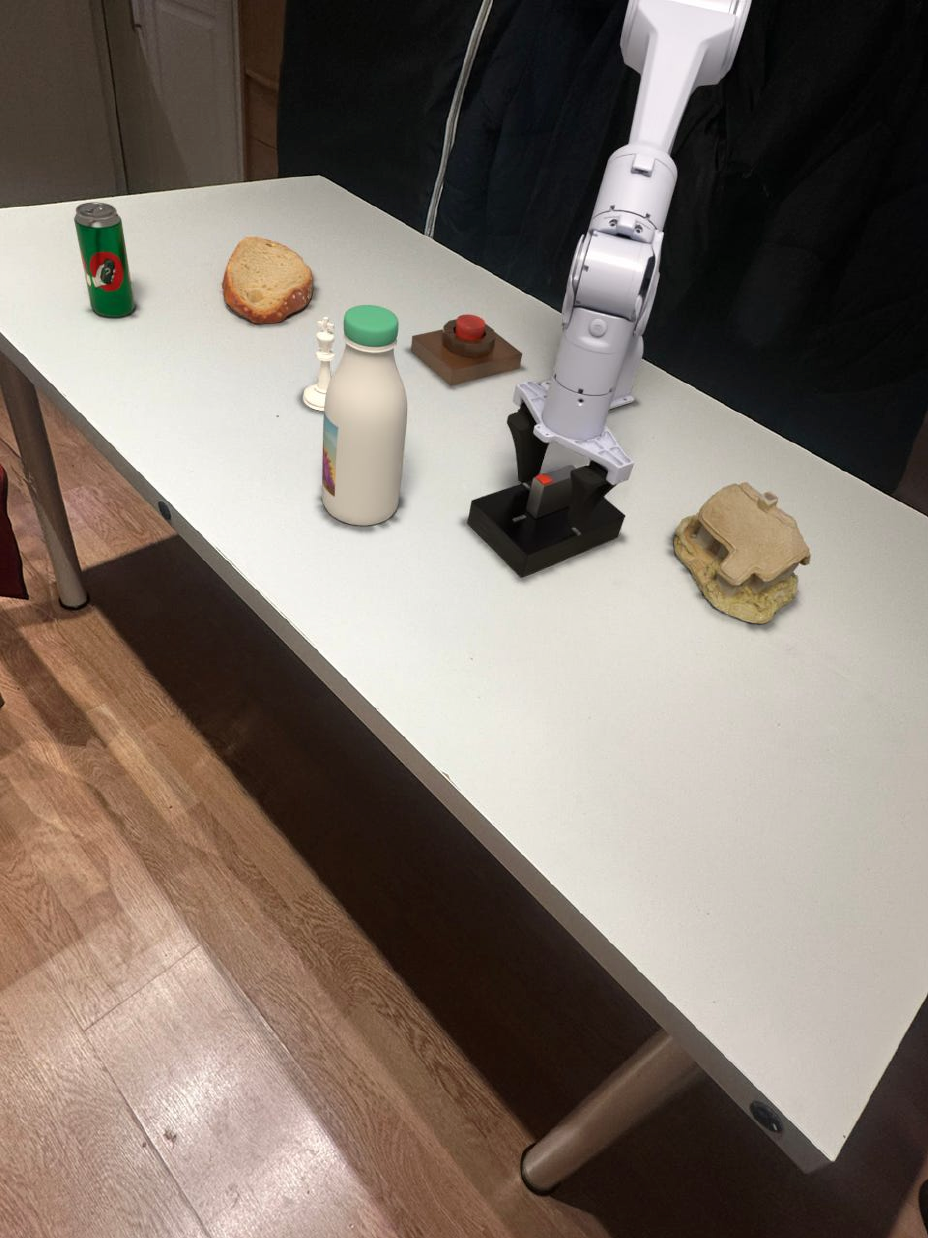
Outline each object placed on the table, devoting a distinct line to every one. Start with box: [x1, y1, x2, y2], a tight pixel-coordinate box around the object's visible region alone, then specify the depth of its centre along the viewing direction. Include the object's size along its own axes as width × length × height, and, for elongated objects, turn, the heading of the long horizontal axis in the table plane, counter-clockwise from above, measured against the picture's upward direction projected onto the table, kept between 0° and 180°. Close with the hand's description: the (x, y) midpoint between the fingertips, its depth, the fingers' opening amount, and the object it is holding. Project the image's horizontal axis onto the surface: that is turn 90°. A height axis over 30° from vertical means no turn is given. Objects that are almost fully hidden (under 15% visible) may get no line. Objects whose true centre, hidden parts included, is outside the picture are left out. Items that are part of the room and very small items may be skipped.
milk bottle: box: [321, 304, 408, 526], centre depth 76 cm, size 8×8×20 cm
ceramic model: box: [673, 481, 812, 624], centre depth 80 cm, size 14×11×10 cm
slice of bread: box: [221, 236, 314, 325], centre depth 111 cm, size 18×18×4 cm
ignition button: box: [455, 313, 486, 340], centre depth 102 cm, size 4×4×2 cm
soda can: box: [73, 201, 136, 319], centre depth 98 cm, size 5×5×12 cm
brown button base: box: [410, 318, 523, 387], centre depth 104 cm, size 11×9×4 cm
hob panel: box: [466, 480, 626, 578], centre depth 83 cm, size 13×9×3 cm
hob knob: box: [526, 463, 578, 519], centre depth 80 cm, size 5×2×4 cm, turn 126°
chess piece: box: [302, 316, 336, 412], centre depth 91 cm, size 5×5×10 cm
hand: (551, 500), depth 81 cm, fingers open, 7 cm apart
